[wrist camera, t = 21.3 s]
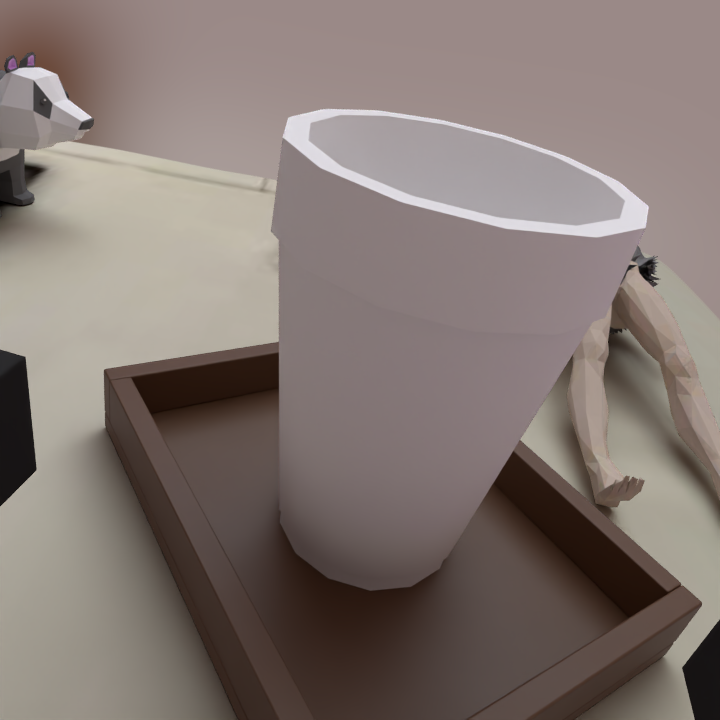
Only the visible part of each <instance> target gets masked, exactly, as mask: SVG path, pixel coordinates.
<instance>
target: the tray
mask: <svg viewBox="0 0 720 720" xmlns="http://www.w3.org/2000/svg"><path fill="white" fill-rule="evenodd" d="M104 396H105V411H106V412H105V426H106V428H107V430H108V433H109V435H110V437H111V439H112V441H113V444H114V446H115V448H116V450H117V452H118V455H119V457H120V459H121V461H122V463H123V466H124V468H125V470H126V472H127V474H128V477H129V479H130V481H131V483H132V485H133V488H134V490H135V492H136V494H137V497H138V499H139V501H140V503H141V505H142V508H143V510H144V512H145V514H146V516H147V519H148V521H149V523H150V525H151V527H152V530H153V532H154V534H155V536H156V538H157V541H158V543H159V545H160V547H161V550H162V552H163V554H164V556H165V558H166V561H167V563H168V565H169V567H170V569H171V572H172V574H173V576H174V578H175V580H176V583H177V585H178V587H179V589H180V591H181V594H182V596H183V598H184V600H185V602H186V605H187V607H188V609H189V611H190V614H191V616H192V618H193V620H194V622H195V625H196V627H197V629H198V631H199V633H200V636H201V638H202V640H203V642H204V644H205V647H206V649H207V651H208V653H209V655H210V658H211V660H212V662H213V664H214V667H215V669H216V671H217V673H218V675H219V678H220V680H221V682H222V684H223V686H224V689H225V691H226V693H227V695H228V697H229V700H230V702H231V704H232V706H233V708H234V711H235V713H236V715H237V717H238V719H239V720H574V719H575V718H577V717H578V716H580V715H581V714H582V713H584V712H585V711H587V710H588V709H589V708H591V707H592V706H594V705H595V704H596V703H598V702H599V701H601V700H602V699H604V698H605V697H606V696H608V695H609V694H611V693H612V692H613V691H615V690H616V689H618V688H619V687H620V686H622V685H623V684H625V683H626V682H627V681H629V680H630V679H632V678H633V677H634V676H636V675H637V674H639V673H640V672H642V671H643V670H644V669H646V668H647V667H649V666H650V665H651V664H653V663H654V662H656V661H657V660H658V659H660V658H661V657H663V656H664V655H665V654H666V653H667V651H668V650H669V649H670V647H671V646H672V645H673V642H674V641H676V639H677V638H678V637H679V635H680V634H681V633H682V631H683V630H684V629H685V627H686V626H687V625H688V623H689V622H690V621H691V619H692V618H693V617H694V615H695V614H696V613H697V611H698V610H699V609H700V607H701V606H702V602H701V601H700V600H699V599H698V598H696V597H695V596H694V595H693V594H692V593H691V592H690V591H689V590H687V589H686V588H685V587H684V586H681V583H680V582H679V581H678V580H677V579H676V578H675V577H673V576H672V575H671V574H670V573H669V572H668V571H667V570H666V569H664V568H663V567H662V566H661V565H660V564H659V563H658V562H657V561H655V560H654V559H653V558H652V557H651V556H650V555H649V554H648V553H646V552H645V551H644V550H643V549H642V548H641V547H640V546H639V545H637V544H636V543H635V542H634V541H633V540H632V539H631V538H630V537H628V536H627V535H626V534H625V533H624V532H623V531H622V530H621V529H619V528H618V527H617V526H616V525H615V524H614V523H613V522H612V521H610V520H609V519H608V518H607V517H606V516H605V515H604V514H603V513H601V512H600V511H599V510H598V509H597V508H596V507H595V506H594V505H592V504H591V503H590V502H589V501H588V500H587V499H586V498H585V497H583V496H582V495H581V494H580V493H579V492H578V491H577V490H576V489H574V488H573V487H572V486H571V485H570V484H569V483H568V482H567V481H565V480H564V479H563V478H562V477H561V476H560V475H559V474H558V473H556V472H555V471H554V470H553V469H552V468H551V467H550V466H549V465H547V464H546V463H545V462H544V461H543V460H542V459H541V458H540V457H538V456H537V455H536V454H535V453H534V452H533V451H532V450H531V449H529V448H528V447H527V446H526V445H525V444H524V443H523V442H522V441H519V442H518V444H517V445H516V447H515V449H514V450H513V452H512V454H511V455H510V457H509V458H508V460H507V462H506V463H505V465H504V466H503V468H502V470H501V471H500V473H499V475H498V476H497V478H496V479H495V481H494V483H493V484H492V486H491V487H490V489H489V491H488V492H487V494H486V496H485V497H484V499H483V500H482V502H481V504H480V505H479V507H478V509H477V510H476V512H475V513H474V515H473V517H472V518H471V520H470V521H469V523H468V525H467V526H466V528H465V530H464V531H463V533H462V534H461V536H460V538H459V539H458V541H457V542H456V544H455V546H454V547H453V549H452V551H451V552H450V554H449V555H448V557H447V558H446V559H444V560H443V562H442V565H441V567H440V569H438V570H437V571H435V572H434V573H432V574H430V575H429V576H427V577H426V578H424V579H422V580H421V581H419V582H418V583H416V584H415V585H413V586H411V587H403V588H393V589H382V590H372V591H370V590H366V589H363V588H359V587H356V586H353V585H349V584H346V583H342V582H339V581H336V580H332V579H329V578H327V577H326V576H324V575H323V574H322V573H321V572H319V571H318V570H317V569H315V568H314V567H313V566H311V565H310V564H309V563H308V562H306V561H305V560H304V559H302V558H301V557H300V556H299V555H297V554H296V553H295V551H294V549H293V547H292V545H291V543H290V541H289V539H288V537H287V535H286V533H285V531H284V529H283V528H282V526H281V524H280V515H281V511H280V509H279V342H276V343H270V344H263V345H257V346H250V347H244V348H237V349H231V350H225V351H218V352H212V353H205V354H199V355H193V356H186V357H180V358H173V359H167V360H161V361H154V362H148V363H141V364H135V365H128V366H122V367H116V368H109V369H105V370H104Z"/></svg>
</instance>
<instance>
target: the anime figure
mask: <svg viewBox="0 0 720 720" xmlns="http://www.w3.org/2000/svg"><path fill="white" fill-rule="evenodd" d="M655 258H656V257H654V256H653V257H650V258H644V256H643V255H642V253H641V250H640V248H639V247H638V246H637V248H636V250H635V253H634V255H633V257H632V259H631V261H630V264H629V266H628V268H627V270H626V273H625V275H624V277H623V279H622V281H621V284H620V286H619V288H618V290H617V293H616V295H615V297H614V299H613V301H612V304H611V306H610V308H609V310H608V313H607V315H606V317H605V318H603V319H600V320H597V321H595V322H593V323H592V324H591V326H590V327H589V329H588V331H587V332H586V334H585V335H584V337H583V339H582V340H581V342H580V344H579V345H578V347H577V348H576V350H575V352H574V353H573V367H572V372H571V377H570V382H569V387H568V392H567V402H568V408H569V413H570V416H571V419H572V423H573V426H574V429H575V432H576V435H577V439H578V442H579V445H580V448H581V451H582V454H583V458H584V461H585V464H586V467H587V470H588V473H589V475H590V479H591V484H592V489H593V494H594V498H595V503H596V504H600V505H604V506H608V507H618V505H619V502H620V501H628V500H631V499H632V498H633V497H634V496H635V495H637V494H638V493H639V492H640V491H641V489H642V486H643V484H644V480H643V479H641V478H640V479H639V481H638V483H637V480H638V479H636V478H634V477H632V478H631V480H630V481H629V477H630V476H626V477H625V478H624V477H623V475H622V474H621V473H620V471H619V470H618V469H617V467H616V466H615V465H614V463H613V462H612V461H611V460H610V457H609V452H608V448H607V443H606V439H607V428H608V417H609V410H608V404H607V399H606V393H605V388H604V383H603V377H604V367H605V362H606V360H607V357H608V355H609V349H608V337H609V333H611V334H614V332H615V333H618V331H619V332H621V333H622V329H625V330H626V329H629V331H630V332H631V333H632V334H633V336H634V337H635V338H636V339H637V340H638V342H639V343H640V344H641V345H642V347H643V348H644V349H645V350H646V352H647V353H648V354H650V355H651V356H652V357H653V358H654V359H655V360H656V361H658V362H659V363H660V367H661V371H662V374H663V378H664V382H665V386H666V389H667V393H668V399H669V404H670V409H671V414H672V417H673V420H674V423H675V426H676V428H677V431H678V434H679V436H680V437H681V438H682V439H683V441H684V442H685V443H686V444H687V445H688V446H689V448H690V449H691V450H692V451H693V452H694V453H695V455H696V456H697V457H698V458H699V459H700V461H701V462H702V463H703V464H704V465H705V466H706V468H707V469H708V470H709V471H710V474H711V476H712V479H713V482H714V485H715V488H716V491H717V494H718V497H719V500H720V431H719V428H718V426H717V423H716V421H715V418H714V415H713V413H712V410H711V408H710V405H709V403H708V400H707V398H706V395H705V393H704V390H703V388H702V385H701V383H700V380H699V377H698V373H697V369H696V365H695V363H694V361H693V359H692V357H691V355H690V353H689V350H688V348H687V346H686V343H685V341H684V338H683V336H682V333H681V331H680V328H679V326H678V323H677V322H676V320H675V318H674V316H673V315H672V313H671V311H670V309H669V308H668V306H667V304H666V302H665V301H664V299H663V298H662V297H661V296H660V294H659V293H658V292H657V291H656V290H655V289H654V288H653V287H654V286H656V285H657V283H655V282H654V281H652V280H658V279H659V278H656V277H653V276H651V274H654V273H655V272H657V271H655V267H657V266H656V265H655V264H656V263H658V262H656V261H655V260H657V259H655ZM653 259H654V260H653ZM654 275H656V274H654ZM650 281H652V282H650ZM653 282H654V283H653ZM628 481H629V482H628ZM636 484H637V485H636Z"/></svg>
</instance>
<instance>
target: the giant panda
mask: <svg viewBox="0 0 720 720" xmlns="http://www.w3.org/2000/svg"><path fill="white" fill-rule="evenodd" d="M4 67H5V71H2V70H0V200H1V201H4V202H9V203H14V204H19V205H25V204H29V203H32V202H33V201H34V195H33V194H32V193H31V192H29V191H28V190H27V188H26V183H25V179H24V149H29V150H38V149H42V148H47V147H52V146H54V145H55V144H56V143H59V142H65V141H71V140H76V139H81V138H82V137H83V135H84V133H85V132H86V131H89V130H90V128H91V127H92V126H93V123H94V119H93V118H92V117H90V116H89V115H88V114H86V113H85V112H84V111H83V110H81V109H80V108H79V107H77V106H76V105H75V104H73V103H72V102H71V101H70V100H69V96H68V93H67V92H65V89H64V87H63V86H62V83H61V82H60V79H59V77H58V75H57V74H54V73H52V72H50V71H47V70H45V69H43V68H34V67H35V54H34V53H33V52H31V53H27V55H26V56H25V57H24V58H23V59H22V60H21V61H20V65H19V68H18V65H17V60H16V58H15V56H14V55H12V56H9V57H8V58H7V59H6V62H5V65H4ZM1 216H2V214H1V210H0V217H1Z"/></svg>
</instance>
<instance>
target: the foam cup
mask: <svg viewBox="0 0 720 720" xmlns="http://www.w3.org/2000/svg"><path fill="white" fill-rule="evenodd" d="M648 208H649V206H647V205H646V204H645V203H644V202H642V201H641V200H640V199H639V198H638V197H637V196H635V195H634V194H633V193H632V192H631V191H629V190H628V189H627V188H626V187H624V186H623V185H622V184H621V183H620V182H618V181H617V180H615V179H613V178H610V177H608V176H606V175H604V174H602V173H600V172H598V171H596V170H594V169H592V168H590V167H587V166H585V165H583V164H581V163H579V162H577V161H575V160H573V159H571V158H568V157H566V156H564V155H561V154H558V153H555V152H552V151H549V150H546V149H543V148H540V147H537V146H534V145H531V144H528V143H525V142H522V141H519V140H517V139H513V138H511V137H508V136H505V135H500V134H496V133H492V132H488V131H484V130H480V129H475V128H471V127H468V126H463V125H460V124H455V123H451V122H447V121H443V120H438V119H431V118H425V117H418V116H411V115H405V114H398V113H392V112H385V111H378V110H344V109H322V110H318V111H313V112H309V113H305V114H301V115H296V116H292V117H289V118H288V121H287V124H286V128H285V131H284V135H283V140H282V147H281V155H280V163H279V171H278V179H277V187H276V195H275V203H274V211H273V219H272V227H271V232H272V233H273V234H274V235H275V236H276V237H277V238H278V240H279V509H280V511H281V515H280V524H281V526H282V528H283V529H284V531H285V533H286V535H287V537H288V539H289V541H290V543H291V545H292V547H293V549H294V551H295V553H296V554H297V555H299V556H300V557H301V558H302V559H304V560H305V561H306V562H308V563H309V564H310V565H311V566H313V567H314V568H315V569H317V570H318V571H319V572H321V573H322V574H323V575H324V576H326V577H327V578H329V579H332V580H336V581H339V582H342V583H346V584H349V585H353V586H356V587H359V588H363V589H366V590H370V591H372V590H382V589H393V588H403V587H411V586H413V585H415V584H416V583H418V582H419V581H421V580H422V579H424V578H426V577H427V576H429V575H430V574H432V573H434V572H435V571H437V570H438V569H440V567H441V565H442V562H443V560H444V559H446V558H447V557H448V555H449V554H450V552H451V551H452V549H453V547H454V546H455V544H456V542H457V541H458V539H459V538H460V536H461V534H462V533H463V531H464V530H465V528H466V526H467V525H468V523H469V521H470V520H471V518H472V517H473V515H474V513H475V512H476V510H477V509H478V507H479V505H480V504H481V502H482V500H483V499H484V497H485V496H486V494H487V492H488V491H489V489H490V487H491V486H492V484H493V483H494V481H495V479H496V478H497V476H498V475H499V473H500V471H501V470H502V468H503V466H504V465H505V463H506V462H507V460H508V458H509V457H510V455H511V454H512V452H513V450H514V449H515V447H516V445H517V444H518V442H519V441H520V439H521V437H522V436H523V434H524V432H525V431H526V429H527V428H528V426H529V424H530V423H531V421H532V420H533V418H534V416H535V415H536V413H537V411H538V410H539V408H540V407H541V405H542V403H543V402H544V400H545V399H546V397H547V395H548V394H549V392H550V390H551V389H552V387H553V386H554V384H555V382H556V381H557V379H558V378H559V376H560V374H561V373H562V371H563V369H564V368H565V366H566V365H567V363H568V361H569V360H570V358H571V356H572V355H573V353H574V352H575V350H576V348H577V347H578V345H579V344H580V342H581V340H582V339H583V337H584V335H585V334H586V332H587V331H588V329H589V327H590V326H591V324H592V323H593V322H595V321H597V320H600V319H603V318H605V317H606V315H607V313H608V310H609V308H610V306H611V304H612V301H613V299H614V297H615V295H616V293H617V290H618V288H619V286H620V284H621V281H622V279H623V277H624V275H625V273H626V270H627V268H628V266H629V264H630V261H631V259H632V257H633V255H634V253H635V250H636V248H637V246H638V244H639V241H640V239H641V237H642V235H643V233H644V230H645V228H646V222H647V215H648Z"/></svg>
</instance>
